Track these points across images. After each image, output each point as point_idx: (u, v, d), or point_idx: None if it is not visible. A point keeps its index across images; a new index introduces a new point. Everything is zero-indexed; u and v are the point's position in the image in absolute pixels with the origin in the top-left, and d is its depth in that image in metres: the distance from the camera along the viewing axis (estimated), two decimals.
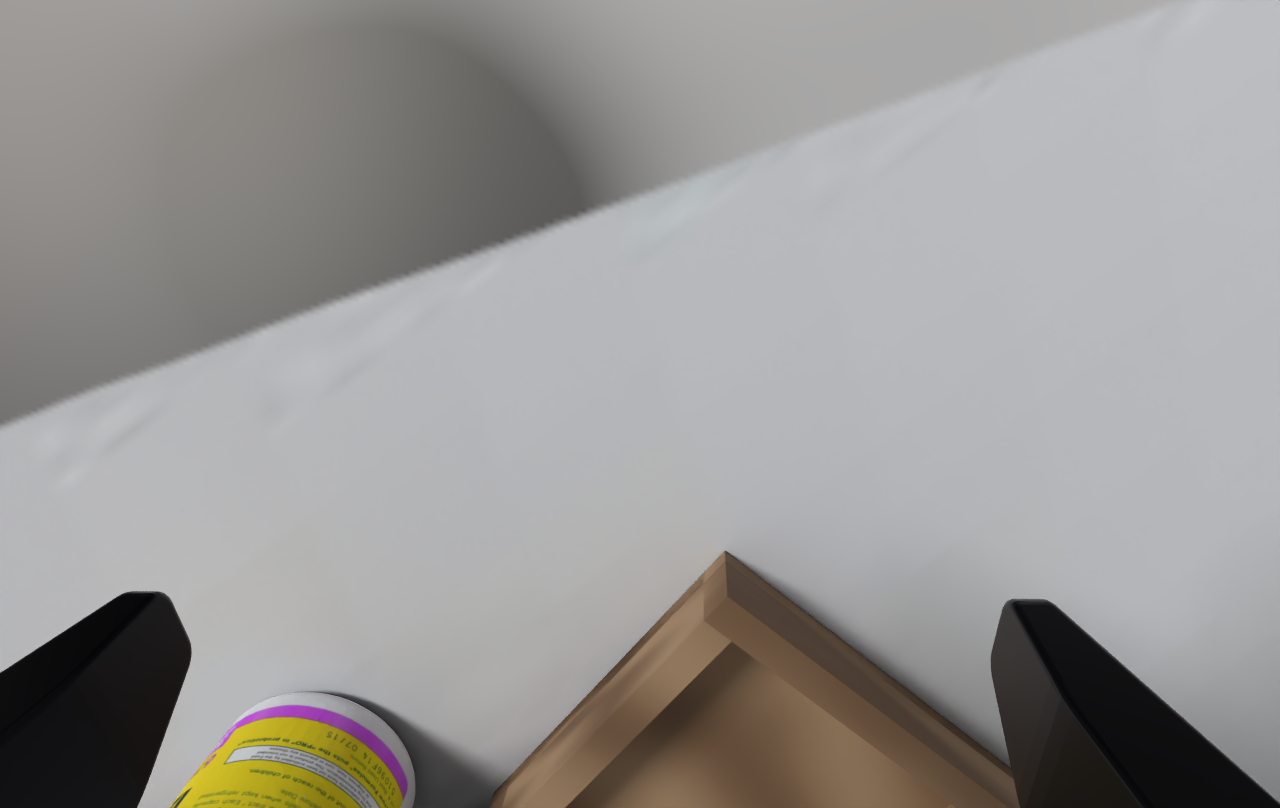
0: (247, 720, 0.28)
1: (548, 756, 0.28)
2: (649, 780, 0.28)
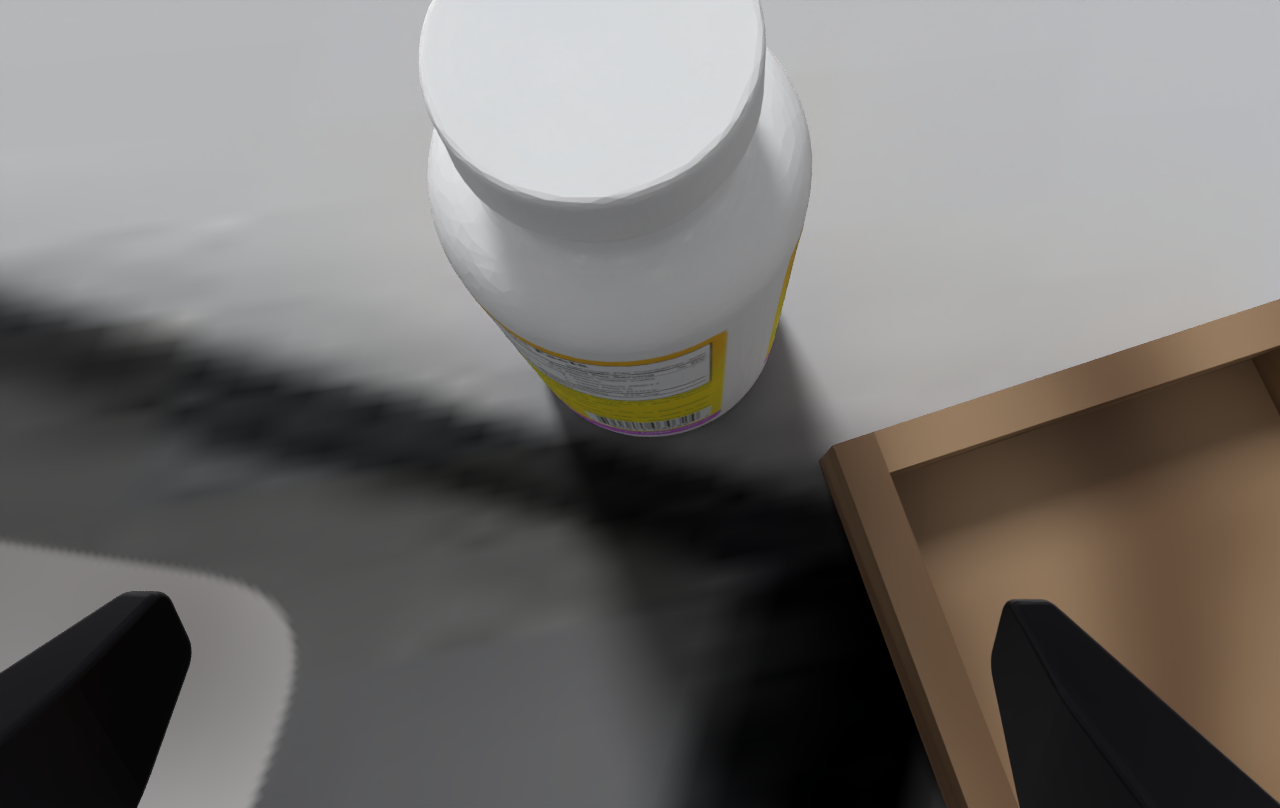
0: None
1: None
2: (1036, 528, 0.22)
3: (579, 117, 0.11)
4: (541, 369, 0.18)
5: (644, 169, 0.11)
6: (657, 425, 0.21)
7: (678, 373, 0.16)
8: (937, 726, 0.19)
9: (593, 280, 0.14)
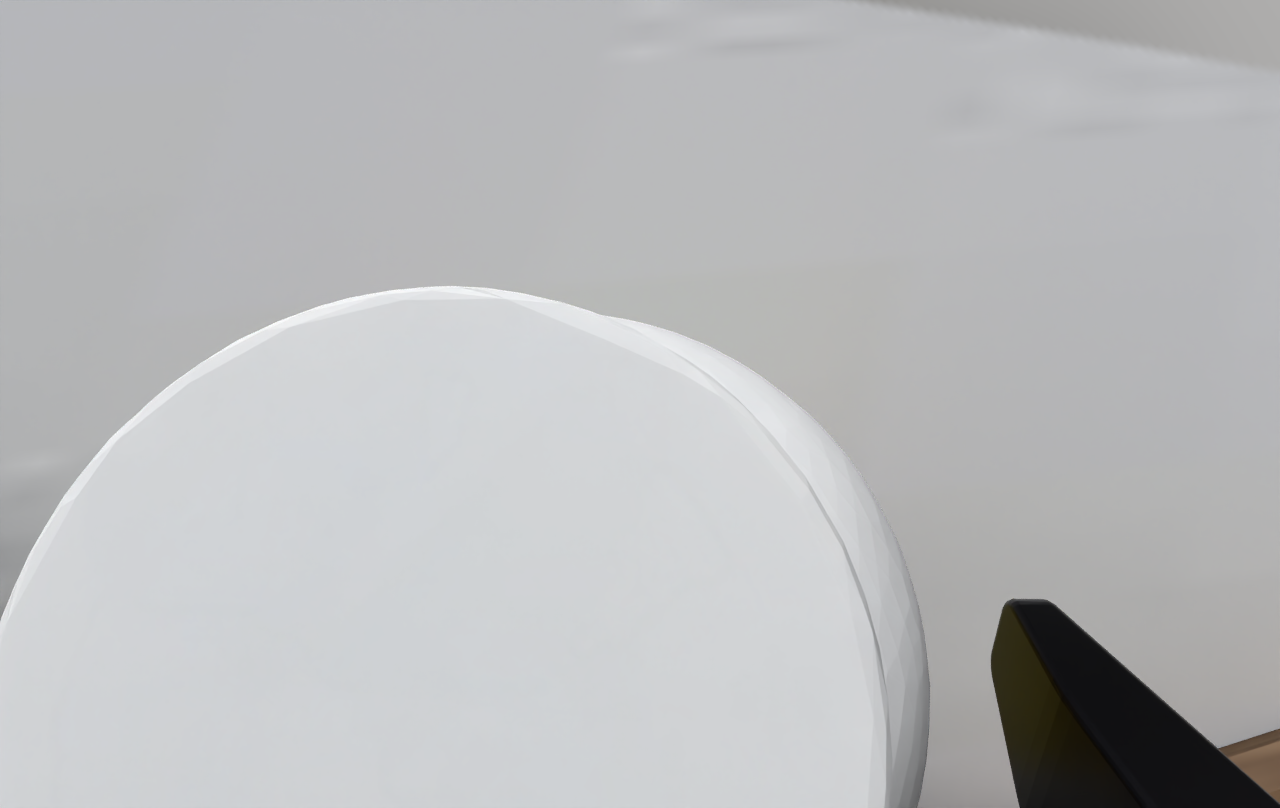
0: None
1: None
2: None
3: None
4: None
5: None
6: None
7: None
8: None
9: None
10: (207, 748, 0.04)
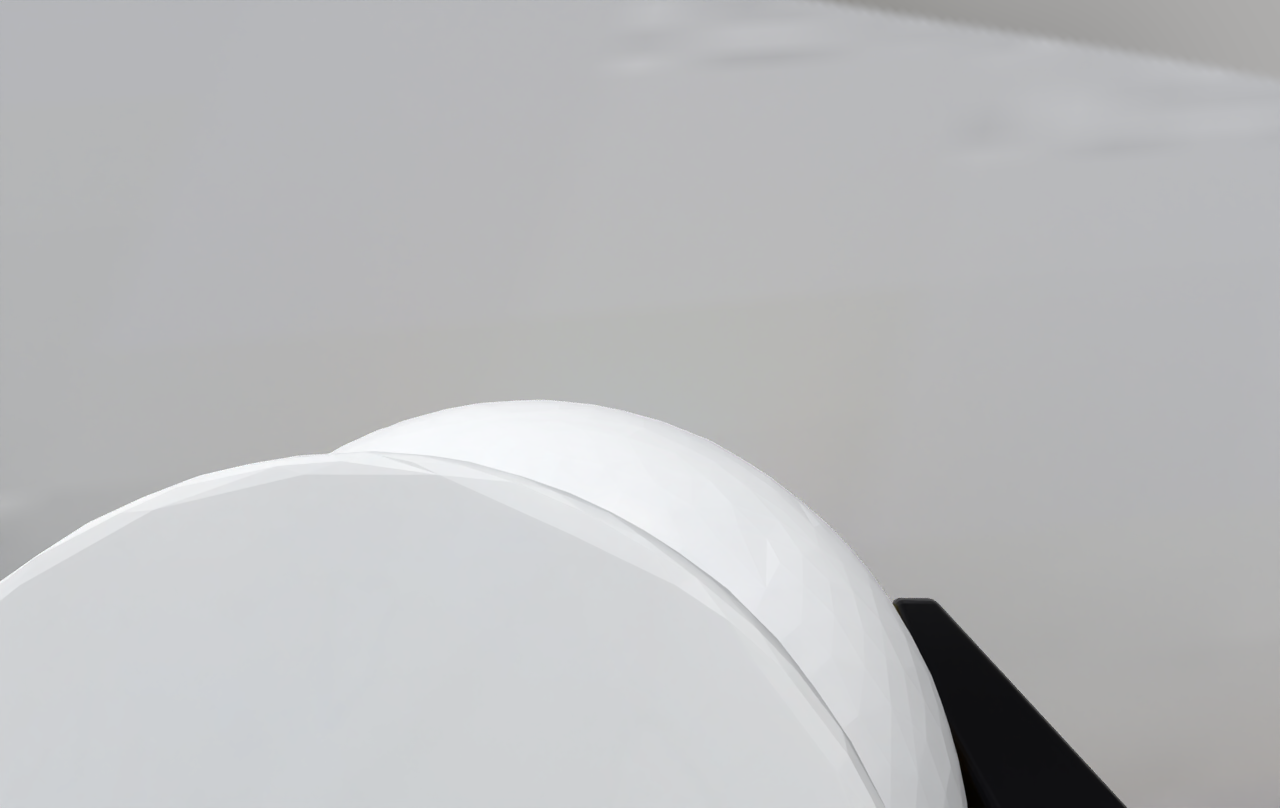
0: None
1: None
2: None
3: None
4: None
5: None
6: None
7: None
8: None
9: None
10: None
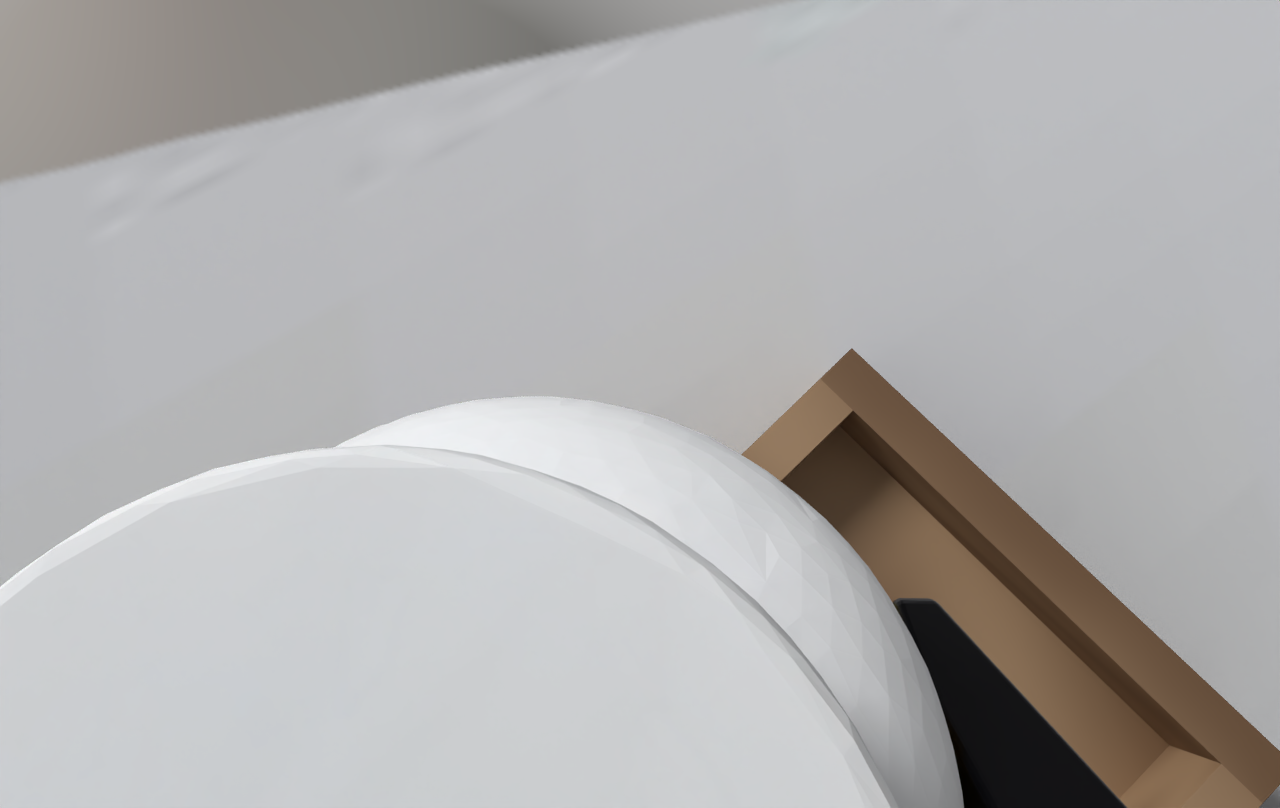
0: None
1: None
2: None
3: None
4: None
5: None
6: None
7: None
8: None
9: None
10: None
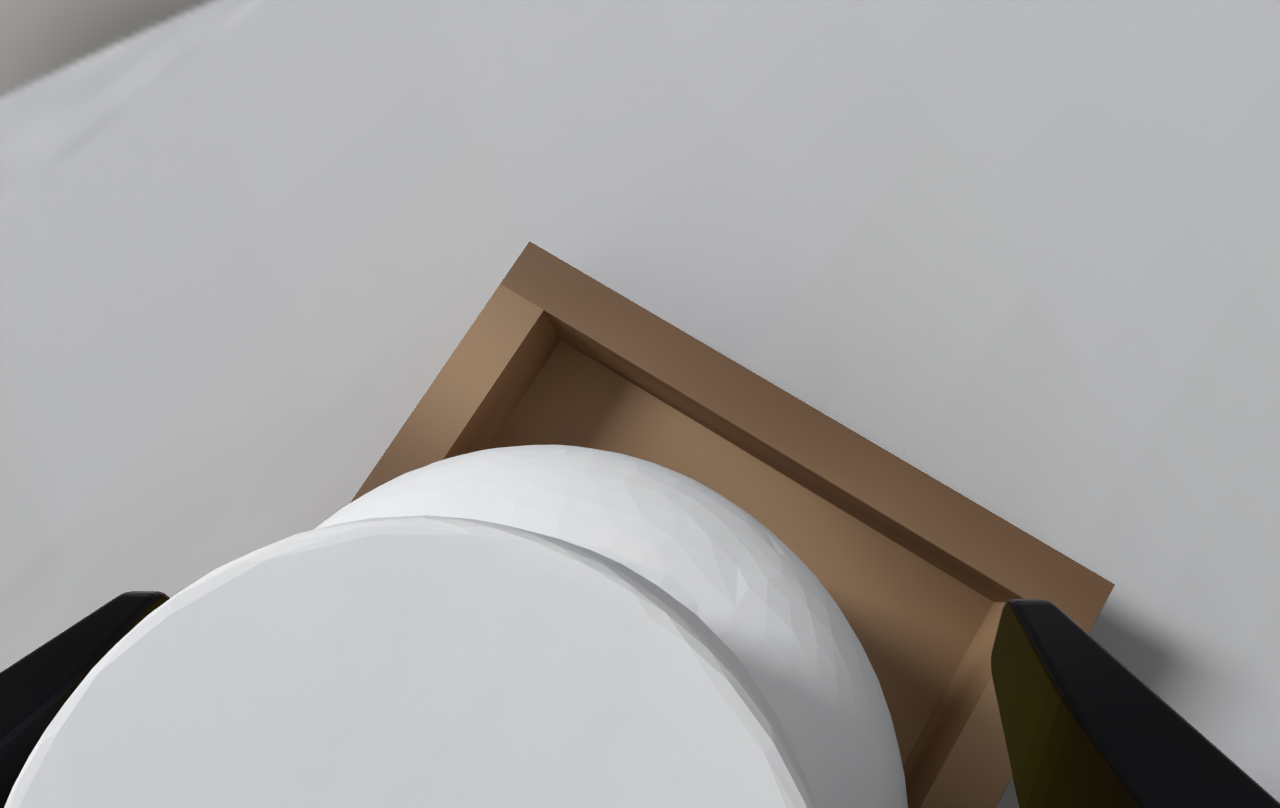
0: None
1: None
2: None
3: None
4: None
5: None
6: None
7: None
8: None
9: None
10: None
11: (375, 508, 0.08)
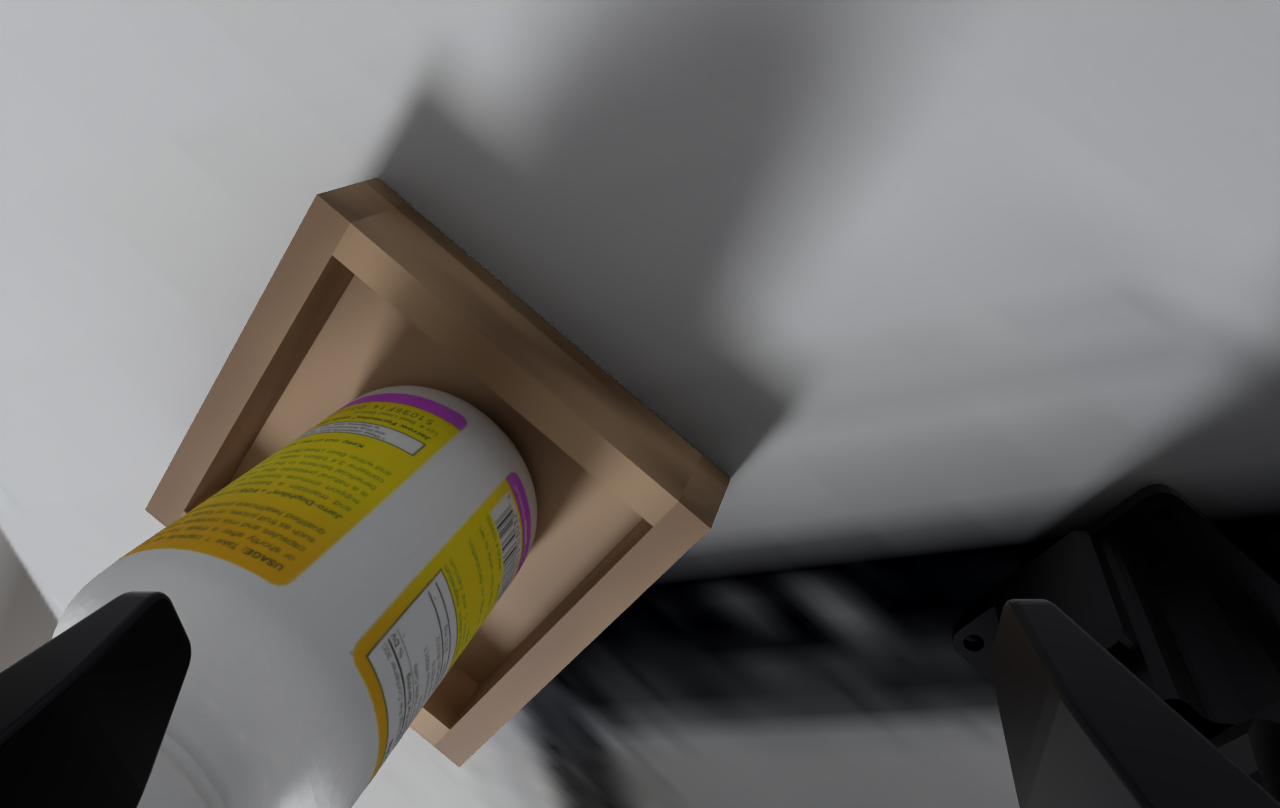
0: None
1: None
2: None
3: None
4: None
5: None
6: (511, 549, 0.22)
7: (411, 644, 0.18)
8: (581, 649, 0.23)
9: (285, 799, 0.16)
10: None
11: None
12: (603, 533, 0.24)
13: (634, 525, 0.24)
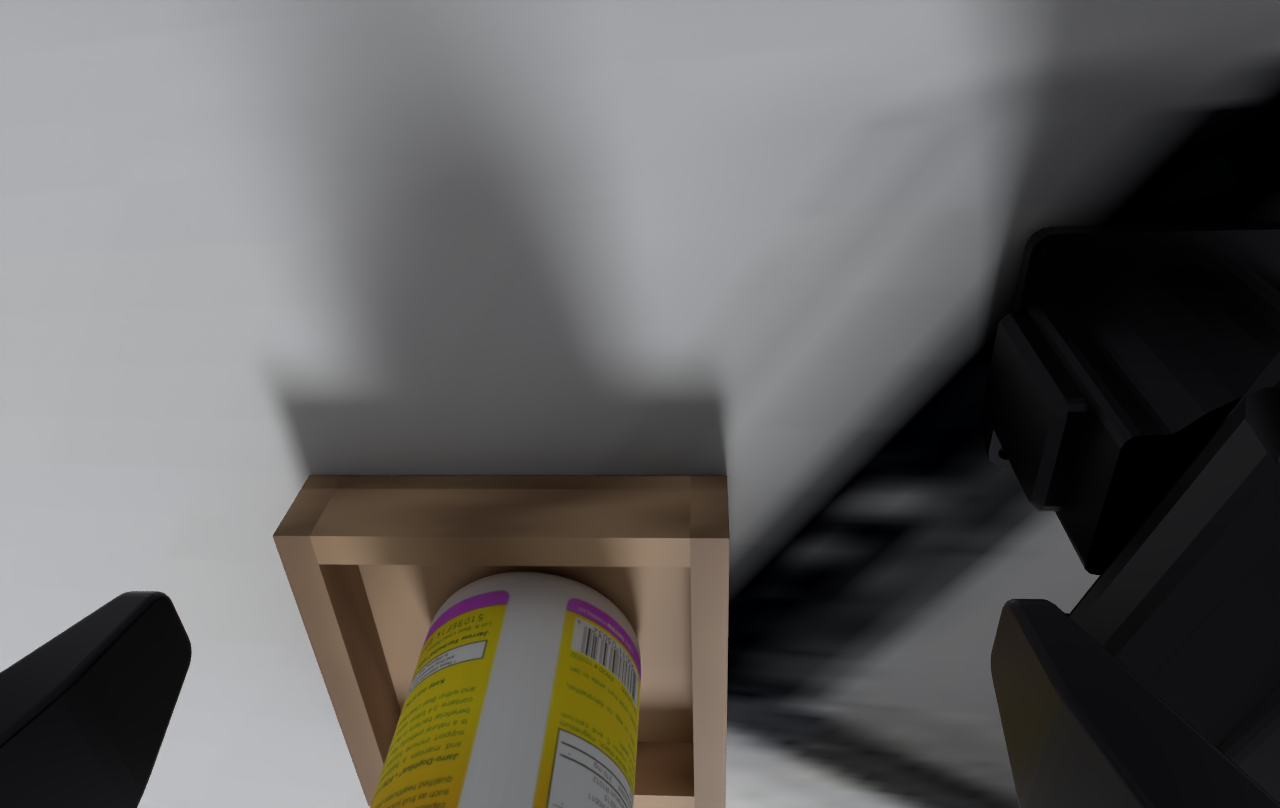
0: None
1: None
2: None
3: None
4: None
5: None
6: (611, 656, 0.24)
7: (573, 804, 0.20)
8: (726, 680, 0.25)
9: None
10: None
11: None
12: (675, 582, 0.26)
13: None
